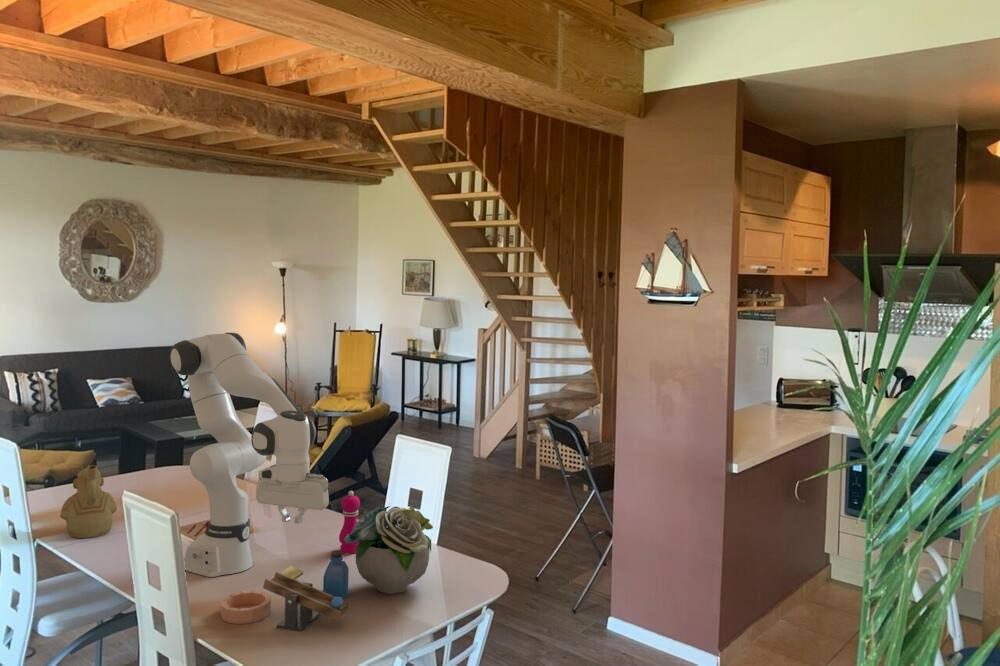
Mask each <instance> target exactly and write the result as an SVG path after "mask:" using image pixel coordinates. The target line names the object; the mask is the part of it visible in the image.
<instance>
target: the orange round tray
mask: <svg viewBox="0 0 1000 666" xmlns="http://www.w3.org/2000/svg"><path fill="white" fill-rule="evenodd" d="M271 603H272V596H271V595H270V594H268V593H267V592H265V591H260V590H244V591H243V590H242V591H238V592H235V593H231V594H229V595H227V596H226V597H224V598H222V599H221V602H220V618H221V620H223V621H224V622H226V623H228V624H233V625H243V624H244V625H245V624H251V623H255V622H259V621H262V620H264V619H265V618H267V617H268V616H269V615H270V614H271V608H272V604H271Z"/></svg>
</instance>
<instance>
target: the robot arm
mask: <svg viewBox="0 0 1000 666" xmlns="http://www.w3.org/2000/svg"><path fill="white" fill-rule="evenodd" d="M169 356H170V362H171V365H172V368H173V370H174V371H175V372H176V373H177V374H178V375H180V376H187V381H188V382H187V383H188V389H189V396H190V399H191V403H192V407H193V410H194V414H195V417H196V420H197V423H198V426H199V428H200V429H201V430H202V431H203V432H205V433H208V434H210V435H211V436H212V437H213V438H214V439H215V440H216V441H217V443H212V444H208V445H206V446H204V447H201V448H200V449H198V450H196V451H194V452H193V454H192V455H191V457H190V461H189V469H190V472H191V474H192V476H193V477H194V478H195V479H196V480H197V481H198V482H200V483H201V484H203V486H204V488H205V490H206V491H207V495H208V498H209V515H210V516H209V521H207V522H206V523H204V524H202V525H201V526H202V527H201V529H202V530H203V529H205V530H204V533H203V534H201V535H200V536H198V537H197V538H196V539H195V540H194V541H192V542H191V543H189V545H188V546H187V548H186V551H185V555H184V561H185V568H186V571H185V572H190V573H194V574H196V575H200V576H201V575H202V576H205V577H208V578H215V577H218V576H222V575H223V576H224V575H232V574H237V573H240V572H245V571H247V570H248V569H250V568H251V567H253V566H254V560H253V557H252V551H251V545H250V532H251V524H250V523H251V522H250V521H251V520H250V518H249V495H248V493H247V492H246V491H245V490H243V488H239V487H238V484H237V481H236V479H237V476H240V475H243V474H247V473H250V472H252V471H254V470H256V469H258V468H259V467H261V466H263V464H264V463H265V462H266V459H267V457H269V456H275V457H276V459H275V464H273V465H270V466H266V467H264V468H263V469H261V470H258V472H257V473H258V474H257V475H258V478H259V479H258V480H257V483H256V488H255V489H256V490H255V491H256V492H255V499H256V501H257V503H258V504H261V505H262V504H263V505H271V506H272V505H273V506H277V509H278V512H279V514H280V515H281V522H284V523H289V522H290V521H291V514H290V513H288V511H287V510H286V508H287V507H288V508H297V511H298V514H297V515H296V516H294V519H293V520H294V524H297V525H298V524H299V525H301V524H302V523H303V516H304V514H305V513H306V511H307V510H316V511H322V510H324V509H326V508H327V507H328V506H329V504H330V498H329V496H330V495H329V489H328V488H329V480H328V478H326V477H325V476H324V475H323V474H320V473H319V474H316V473H311V472H310V470H311V469H310V468H311V467H310V466H311V464H310V463H311V459H310V454H309V449H310V448H311V447H312V446H313V444H314V443H315V440H316V437H317V429H316V425H315V424H314V421H312V419H311V418H310V417H309V416H308V415H307V414H305V413H304V412H303V411H302V410H301V409H300V408H299V407H298V406H297V405H296V403H295V402H294V401H293V399H292V398H291V397H290V396H289V395H288V393H287V392H286V391H285V389H284V388H283V387H282V386H281V384H280V383H279V382H277V380H276V379H274V378H273V377H272V376H270V375H269V374H267V373H266V372H264V371H263V370H262V369H261V368H260V367H259V366H258V365H257V364H256V363H255V362H254V361H253V359H252V358H251V356H250V354H249V353H248V351H247V346H246V343H245V340H244V338H243V337H242V336H241V335H240V334H239V333H238V332H237V333H236V332H224V333H214V334H206V335H203V336H198V337H193V338H192V339H191V338H190V339H188V340H186V339H184V340H180V341H179V342H175V344H174V345H173V346H171V349H170V355H169ZM231 395H232V396H236V397H242V398H249V399H254V400H258V401H261V402H264V403H266V404H267V405H269V407H270V408H271V409H272V410H273V412H274V413H275V415H276V416H275V417H273V418H271V419H267V420H264V421H261V422H258V423H256V425H255V426H254V427H253V430H252V432H251V433H250V432H249V430H248V429H247V428H246V427H245V426H244V425H243V423H242V421H241V420H240V418H239V417H238V413H237V412H236V409H235V406H234V404H233V403H234V402H233V400H232V398H231Z"/></svg>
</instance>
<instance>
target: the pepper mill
mask: <svg viewBox="0 0 1000 666" xmlns="http://www.w3.org/2000/svg"><path fill="white" fill-rule="evenodd" d="M347 494H348V495H346V496H345V497H343V498H342V500H341V504H340V505H341V508H342V509H343V510H342V515H343V518H344V519H343V525H342V528H341V530H340V533H339V535H338V539H339V540H338V541H339V542H340V544H341V545H340V549H339V550H340V551H342V554H345V553H346V554H347V555H352V554H353V553H354V554H356V546H357V545H358V543H359V542H358V541H356V542H353V543H346V541H344V539H345V537H346V536H347V535H348V534H351V532H352V531H353V528H354V527H355V525H356V523H357V522H358V515H359V510H358V509H359V508H360V506H361V501H360V498H359V497H358V496H357V495H354V491H353V490H349V491H348V493H347ZM354 554H353V555H354Z"/></svg>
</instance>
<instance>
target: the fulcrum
mask: <svg viewBox="0 0 1000 666" xmlns="http://www.w3.org/2000/svg"><path fill="white" fill-rule="evenodd" d="M301 582H302V581H301ZM302 583H304V584H307V585H309V586H311V587H313V586H314V585H313V583H311V582H302ZM284 599H285V600H284V602H285V603H284V605H285V606H284V607H285V609H284V618H283V619H282V620H280V622H278V623H277V624H276V629H281V630H288V631H293V632H294V631H295V632H300V633H301V632H303V631H304V630H305V629H307V627H309V626H310V625H311V624H312V623H313V622H314V621H315V620H317V619H318V618H319V617H320V616H321V613H319V612H316V611H314V610H312V609H310V608H307V607H305V606H303V605H300V604H298V595H295V594H288V593H287V594H286V595H285V598H284Z"/></svg>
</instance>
